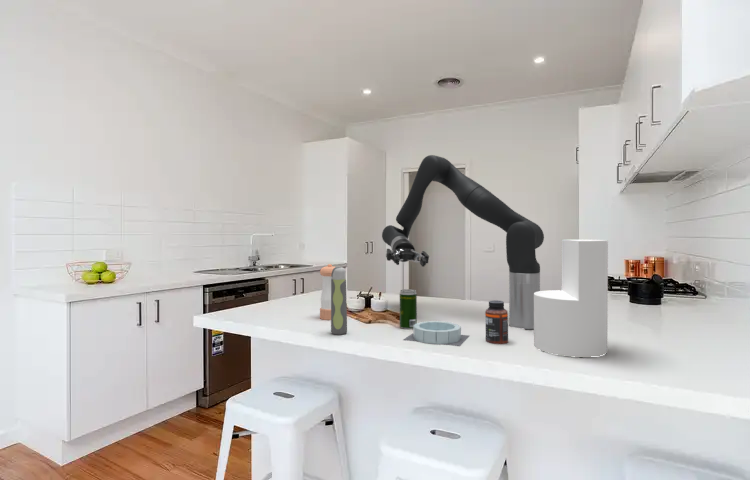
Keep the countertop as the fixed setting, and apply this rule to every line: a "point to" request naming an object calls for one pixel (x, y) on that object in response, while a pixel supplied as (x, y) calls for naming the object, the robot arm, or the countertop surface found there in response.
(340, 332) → the patterned grey bottle
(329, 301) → the salt shaker
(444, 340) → the bowl
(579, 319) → the white stepped cylinder
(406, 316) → the beer can
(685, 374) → the countertop surface
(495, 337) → the supplement bottle
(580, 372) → the countertop surface
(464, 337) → the mat
